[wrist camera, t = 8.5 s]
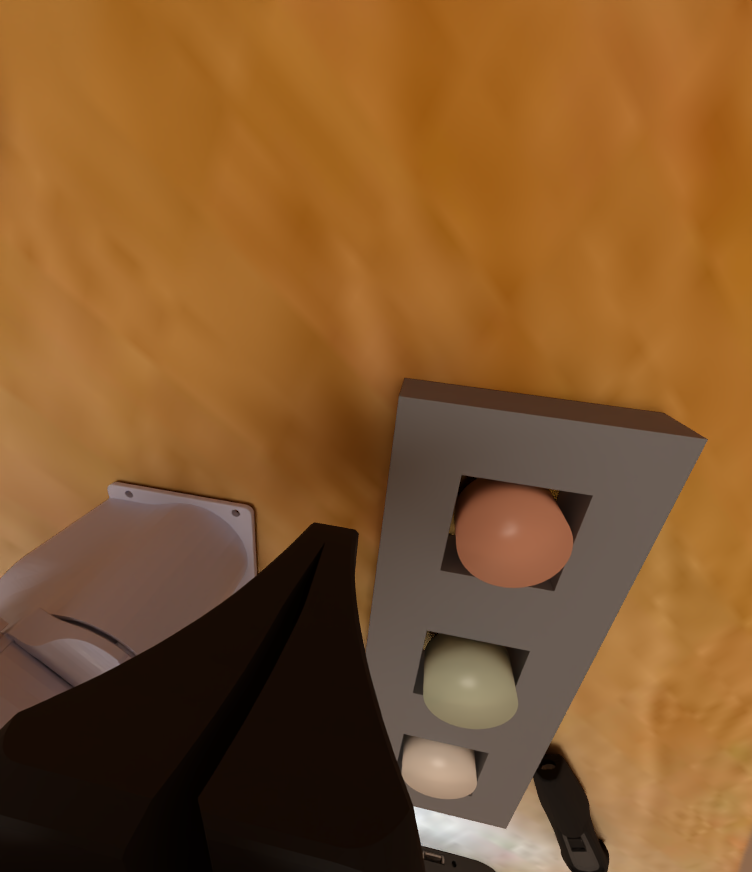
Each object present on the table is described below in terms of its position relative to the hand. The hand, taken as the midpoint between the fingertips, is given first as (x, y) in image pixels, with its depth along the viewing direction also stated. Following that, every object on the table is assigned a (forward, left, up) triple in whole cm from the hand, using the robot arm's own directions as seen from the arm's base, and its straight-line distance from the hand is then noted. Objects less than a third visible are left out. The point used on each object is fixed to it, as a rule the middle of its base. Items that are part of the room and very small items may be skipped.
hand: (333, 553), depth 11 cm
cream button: (+7, -23, -8) cm, 25 cm away
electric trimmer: (+18, -30, -10) cm, 37 cm away
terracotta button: (+7, -3, -8) cm, 11 cm away
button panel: (+7, -13, -9) cm, 18 cm away
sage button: (+7, -13, -7) cm, 16 cm away
